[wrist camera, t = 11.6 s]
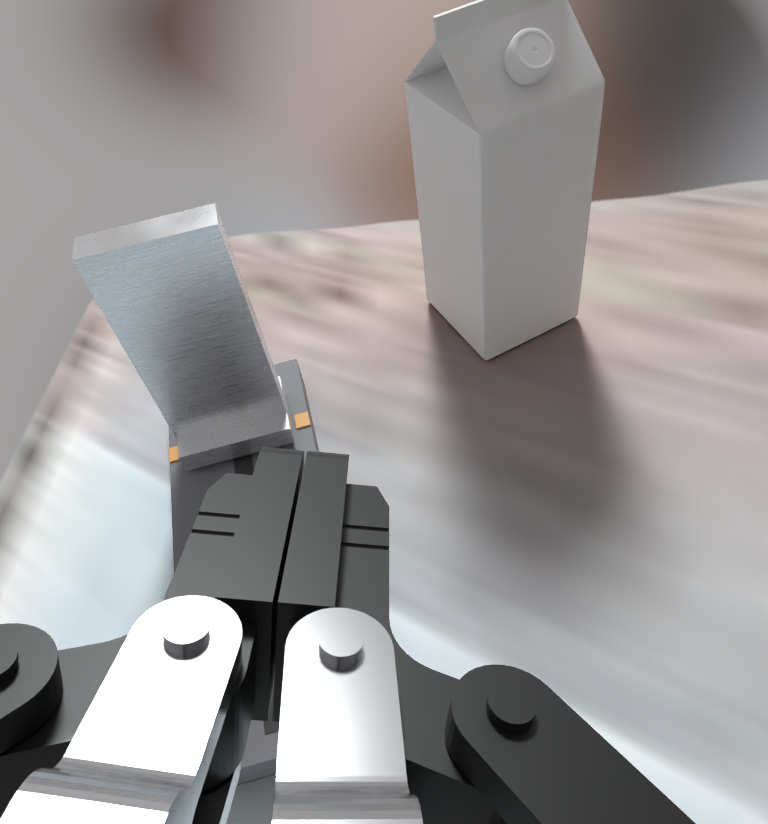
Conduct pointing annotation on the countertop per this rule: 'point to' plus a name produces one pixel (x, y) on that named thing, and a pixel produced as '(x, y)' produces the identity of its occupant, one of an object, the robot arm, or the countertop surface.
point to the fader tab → (189, 332)
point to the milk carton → (505, 166)
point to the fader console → (185, 509)
